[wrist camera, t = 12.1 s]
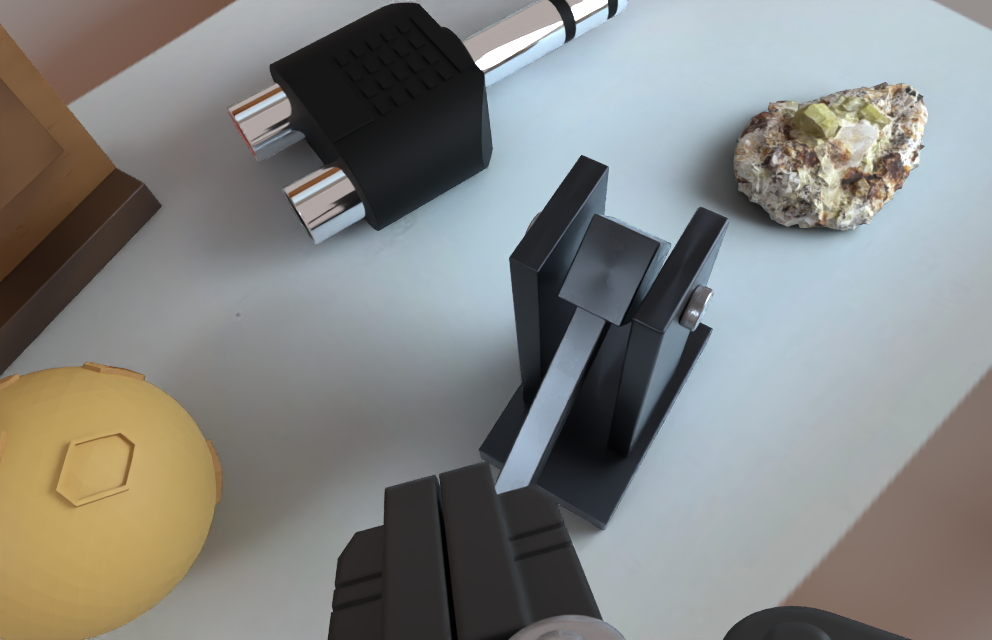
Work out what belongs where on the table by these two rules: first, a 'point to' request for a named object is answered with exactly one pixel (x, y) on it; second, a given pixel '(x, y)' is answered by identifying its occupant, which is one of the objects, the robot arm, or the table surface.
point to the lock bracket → (603, 349)
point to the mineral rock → (831, 155)
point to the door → (53, 204)
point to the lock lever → (584, 333)
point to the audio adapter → (397, 106)
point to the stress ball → (96, 500)
